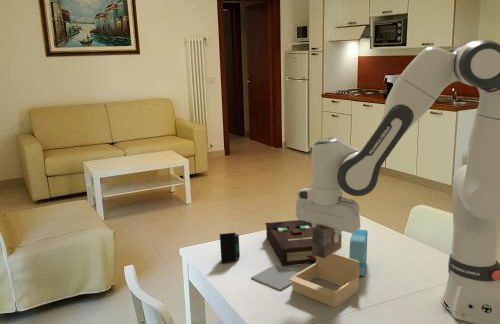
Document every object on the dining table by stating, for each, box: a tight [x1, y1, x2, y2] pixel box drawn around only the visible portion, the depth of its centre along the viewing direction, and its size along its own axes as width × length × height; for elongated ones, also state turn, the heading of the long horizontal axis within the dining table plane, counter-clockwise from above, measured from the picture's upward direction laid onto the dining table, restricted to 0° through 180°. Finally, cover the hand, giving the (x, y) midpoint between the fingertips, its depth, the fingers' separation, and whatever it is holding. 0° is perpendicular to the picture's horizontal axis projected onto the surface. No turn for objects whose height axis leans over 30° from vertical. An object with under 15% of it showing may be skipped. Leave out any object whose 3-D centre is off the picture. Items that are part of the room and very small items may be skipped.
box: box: [312, 225, 342, 258], centre depth 135 cm, size 4×9×8 cm, turn 137°
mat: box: [250, 264, 298, 292], centre depth 147 cm, size 12×12×1 cm
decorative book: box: [264, 219, 316, 267], centre depth 168 cm, size 19×8×30 cm
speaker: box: [219, 232, 241, 265], centre depth 161 cm, size 8×6×10 cm
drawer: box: [289, 252, 360, 308], centre depth 137 cm, size 15×15×10 cm
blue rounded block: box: [348, 229, 368, 277], centre depth 151 cm, size 12×4×12 cm, turn 162°
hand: (327, 239), depth 135 cm, fingers closed on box, 4 cm apart
